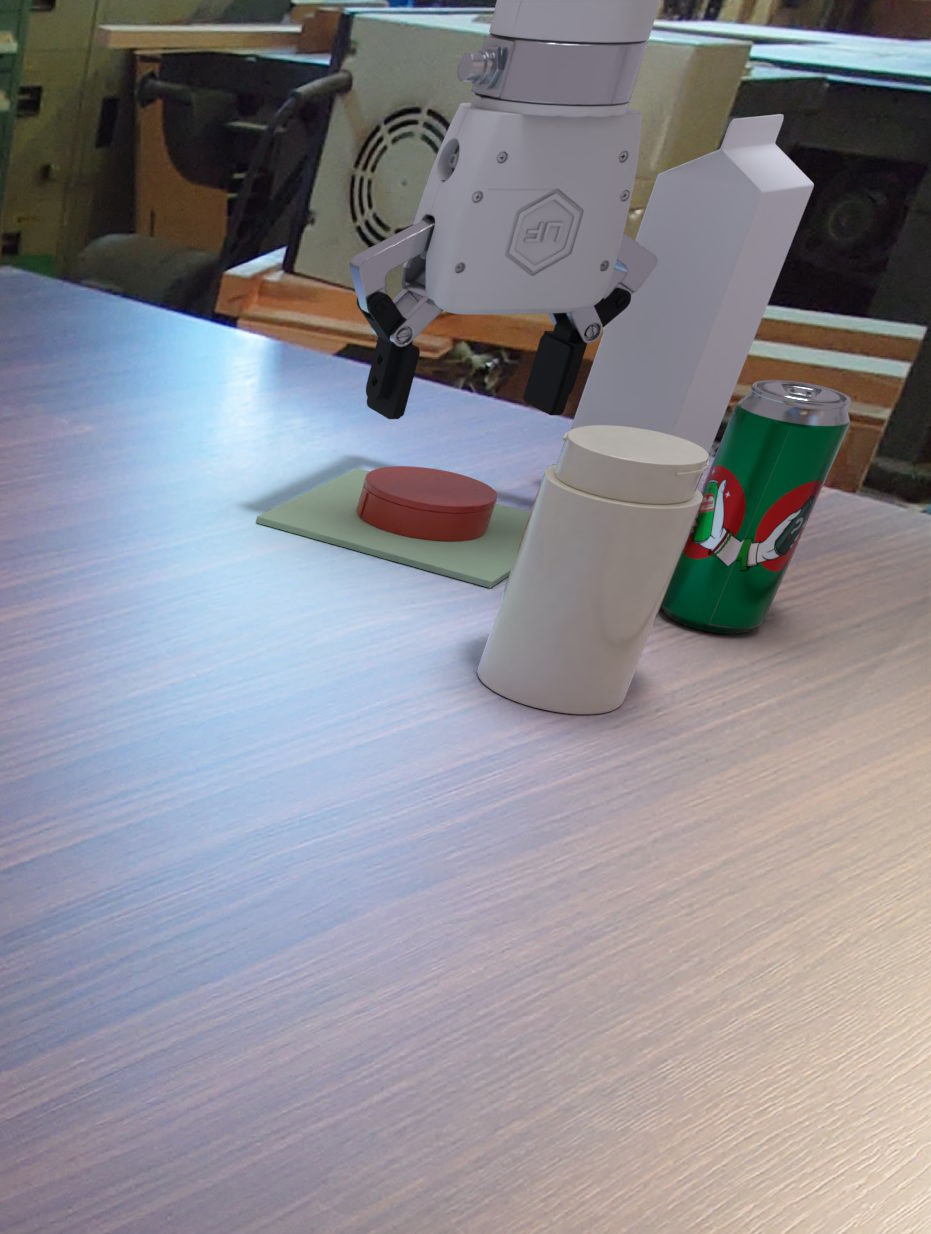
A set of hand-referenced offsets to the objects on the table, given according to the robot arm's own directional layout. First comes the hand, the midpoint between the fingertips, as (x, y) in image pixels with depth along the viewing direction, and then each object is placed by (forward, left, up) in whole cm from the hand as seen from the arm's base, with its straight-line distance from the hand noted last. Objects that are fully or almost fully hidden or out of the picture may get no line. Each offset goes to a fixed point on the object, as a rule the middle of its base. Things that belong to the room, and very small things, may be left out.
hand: (463, 411), depth 97 cm
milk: (-6, -14, -7) cm, 17 cm away
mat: (+1, 0, -7) cm, 7 cm away
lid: (0, 0, -5) cm, 5 cm away
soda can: (-16, +3, -7) cm, 18 cm away
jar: (-13, +18, -7) cm, 24 cm away
